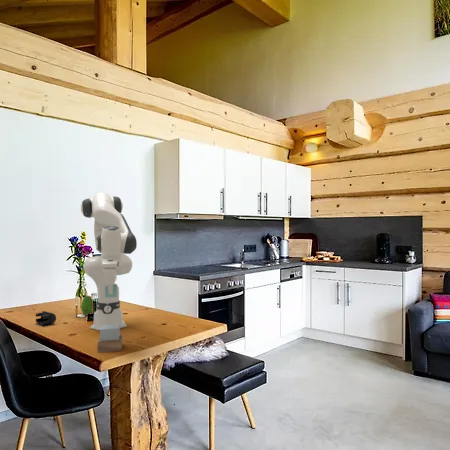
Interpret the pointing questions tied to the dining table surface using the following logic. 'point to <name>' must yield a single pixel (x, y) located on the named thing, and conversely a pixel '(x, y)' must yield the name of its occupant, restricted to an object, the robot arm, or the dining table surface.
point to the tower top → (109, 332)
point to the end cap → (45, 319)
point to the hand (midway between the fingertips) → (111, 292)
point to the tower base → (110, 345)
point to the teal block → (113, 291)
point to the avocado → (86, 305)
